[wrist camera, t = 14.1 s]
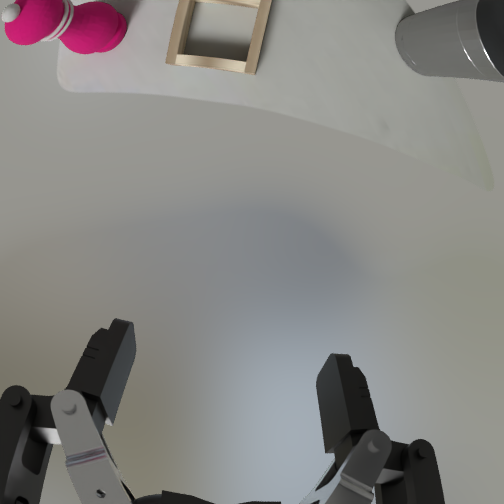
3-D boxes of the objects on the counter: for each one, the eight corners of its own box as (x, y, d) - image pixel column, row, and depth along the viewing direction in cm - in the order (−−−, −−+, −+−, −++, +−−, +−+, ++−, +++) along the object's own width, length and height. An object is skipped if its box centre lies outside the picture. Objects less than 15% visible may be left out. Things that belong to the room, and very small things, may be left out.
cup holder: (271, 2, 26) (272, -5, 23) (254, 75, 31) (254, 73, 29) (188, -7, 25) (183, -14, 23) (172, 65, 30) (165, 63, 28)
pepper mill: (94, 8, 25) (-5, -19, 8) (138, 10, 26) (48, -33, 9) (78, 54, 28) (-28, 54, 11) (120, 58, 29) (17, 50, 12)
